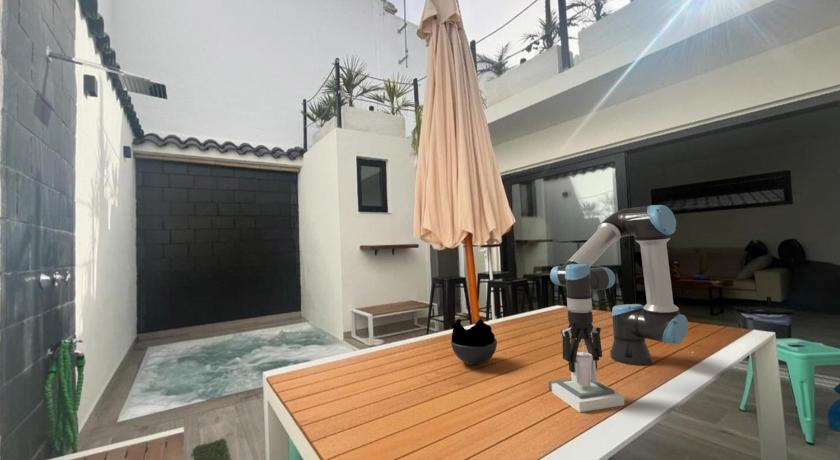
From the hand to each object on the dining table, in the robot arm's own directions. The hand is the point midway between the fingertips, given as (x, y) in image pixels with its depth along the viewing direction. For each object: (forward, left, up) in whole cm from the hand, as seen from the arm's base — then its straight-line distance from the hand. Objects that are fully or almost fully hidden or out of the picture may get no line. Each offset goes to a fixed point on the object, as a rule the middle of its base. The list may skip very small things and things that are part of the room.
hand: (583, 380), depth 112 cm
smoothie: (0, 0, -2) cm, 2 cm away
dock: (0, 0, -6) cm, 6 cm away
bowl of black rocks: (+23, -41, -6) cm, 47 cm away
